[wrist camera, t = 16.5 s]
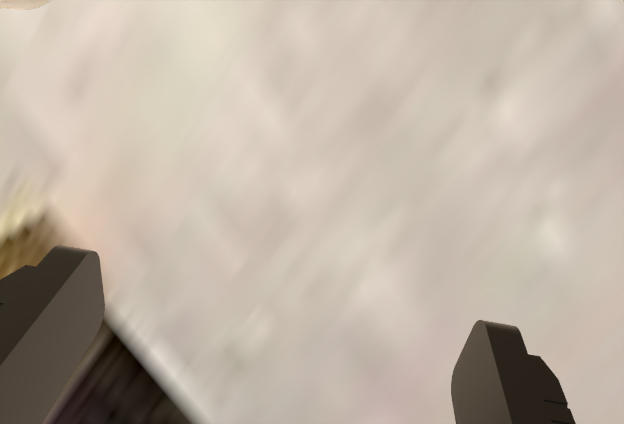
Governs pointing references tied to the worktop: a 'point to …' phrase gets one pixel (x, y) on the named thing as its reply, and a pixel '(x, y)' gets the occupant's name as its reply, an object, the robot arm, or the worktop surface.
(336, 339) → the worktop surface
